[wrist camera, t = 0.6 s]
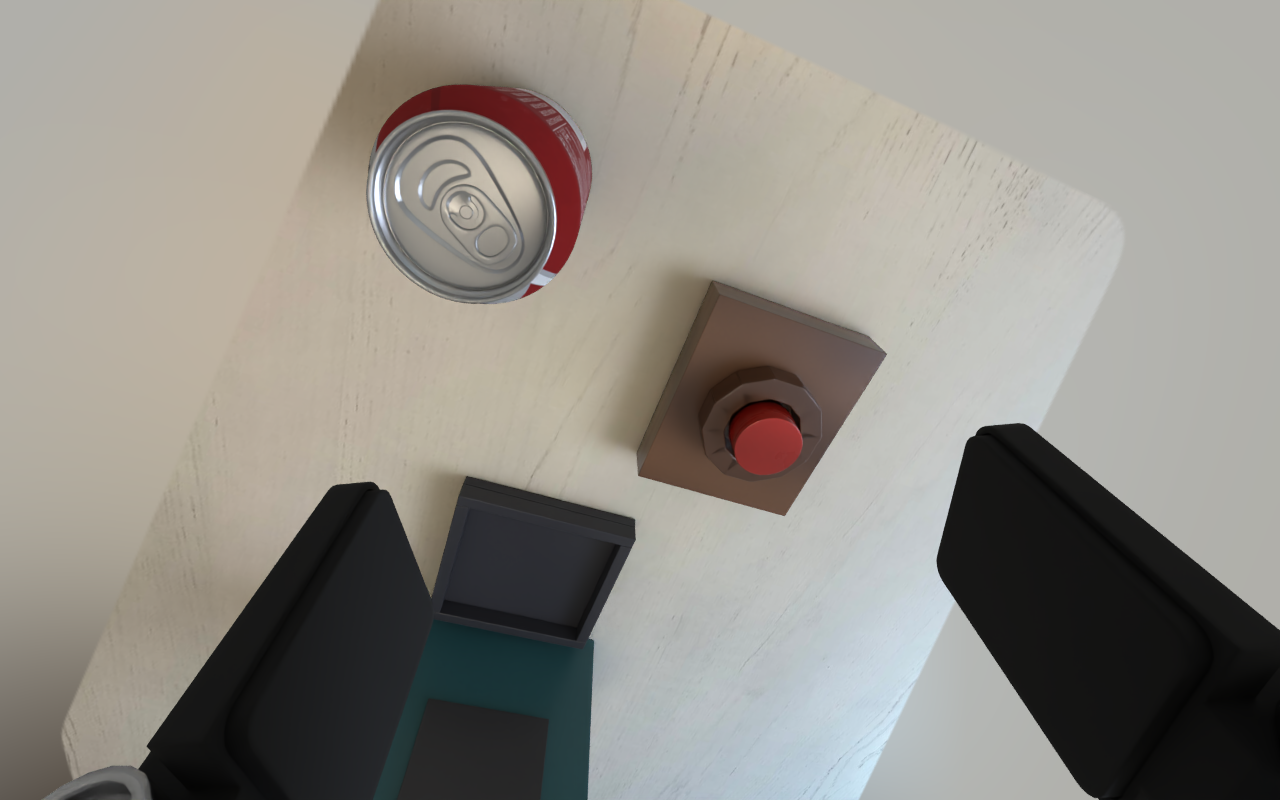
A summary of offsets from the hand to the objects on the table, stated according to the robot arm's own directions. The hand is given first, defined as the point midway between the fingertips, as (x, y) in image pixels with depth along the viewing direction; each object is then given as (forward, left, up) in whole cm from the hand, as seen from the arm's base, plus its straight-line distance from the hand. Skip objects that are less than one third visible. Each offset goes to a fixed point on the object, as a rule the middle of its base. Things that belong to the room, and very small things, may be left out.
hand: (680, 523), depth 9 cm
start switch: (+7, +10, -22) cm, 25 cm away
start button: (+7, +10, -19) cm, 22 cm away
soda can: (-1, -6, -22) cm, 23 cm away
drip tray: (+24, +1, -22) cm, 33 cm away
